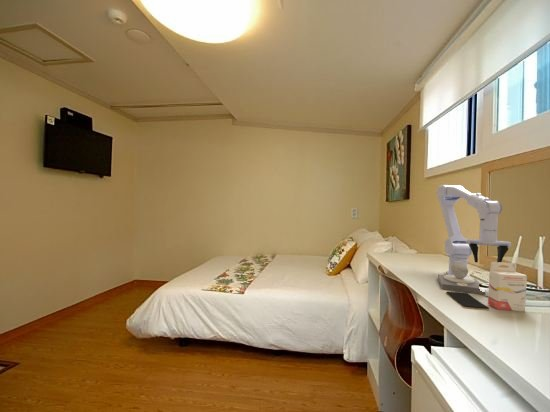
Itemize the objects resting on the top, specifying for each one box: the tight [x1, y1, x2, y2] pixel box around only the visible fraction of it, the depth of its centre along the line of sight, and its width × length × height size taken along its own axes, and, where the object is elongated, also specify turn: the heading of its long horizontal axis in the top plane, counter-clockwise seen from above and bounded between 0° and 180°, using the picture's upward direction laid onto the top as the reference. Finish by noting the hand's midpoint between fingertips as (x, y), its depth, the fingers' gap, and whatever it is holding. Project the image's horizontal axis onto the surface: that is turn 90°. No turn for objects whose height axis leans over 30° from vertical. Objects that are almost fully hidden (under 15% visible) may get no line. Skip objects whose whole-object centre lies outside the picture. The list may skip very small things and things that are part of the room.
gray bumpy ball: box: [451, 261, 469, 279], centre depth 116 cm, size 6×7×7 cm
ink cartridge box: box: [487, 261, 528, 312], centre depth 92 cm, size 9×5×15 cm, turn 84°
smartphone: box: [445, 291, 490, 311], centre depth 97 cm, size 7×1×15 cm
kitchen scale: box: [437, 274, 486, 295], centre depth 115 cm, size 16×14×3 cm
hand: (487, 263), depth 114 cm, fingers open, 7 cm apart
